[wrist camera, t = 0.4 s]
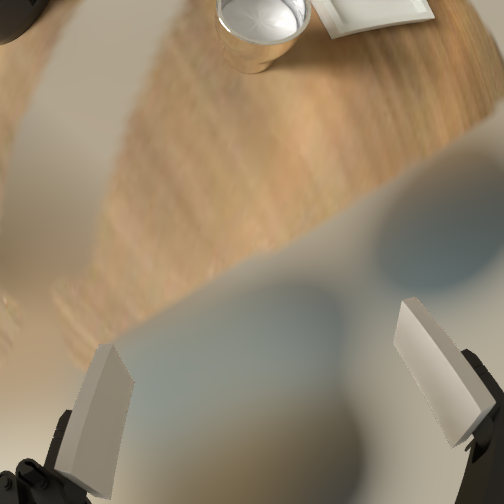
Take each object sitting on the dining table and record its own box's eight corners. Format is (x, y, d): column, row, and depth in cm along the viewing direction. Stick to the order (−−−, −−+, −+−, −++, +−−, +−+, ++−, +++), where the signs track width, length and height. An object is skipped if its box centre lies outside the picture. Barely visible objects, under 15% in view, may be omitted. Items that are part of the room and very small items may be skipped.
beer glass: (258, 16, 26) (278, -42, 13) (291, 60, 29) (332, 24, 15) (207, 43, 27) (193, -5, 14) (240, 88, 30) (249, 64, 17)
